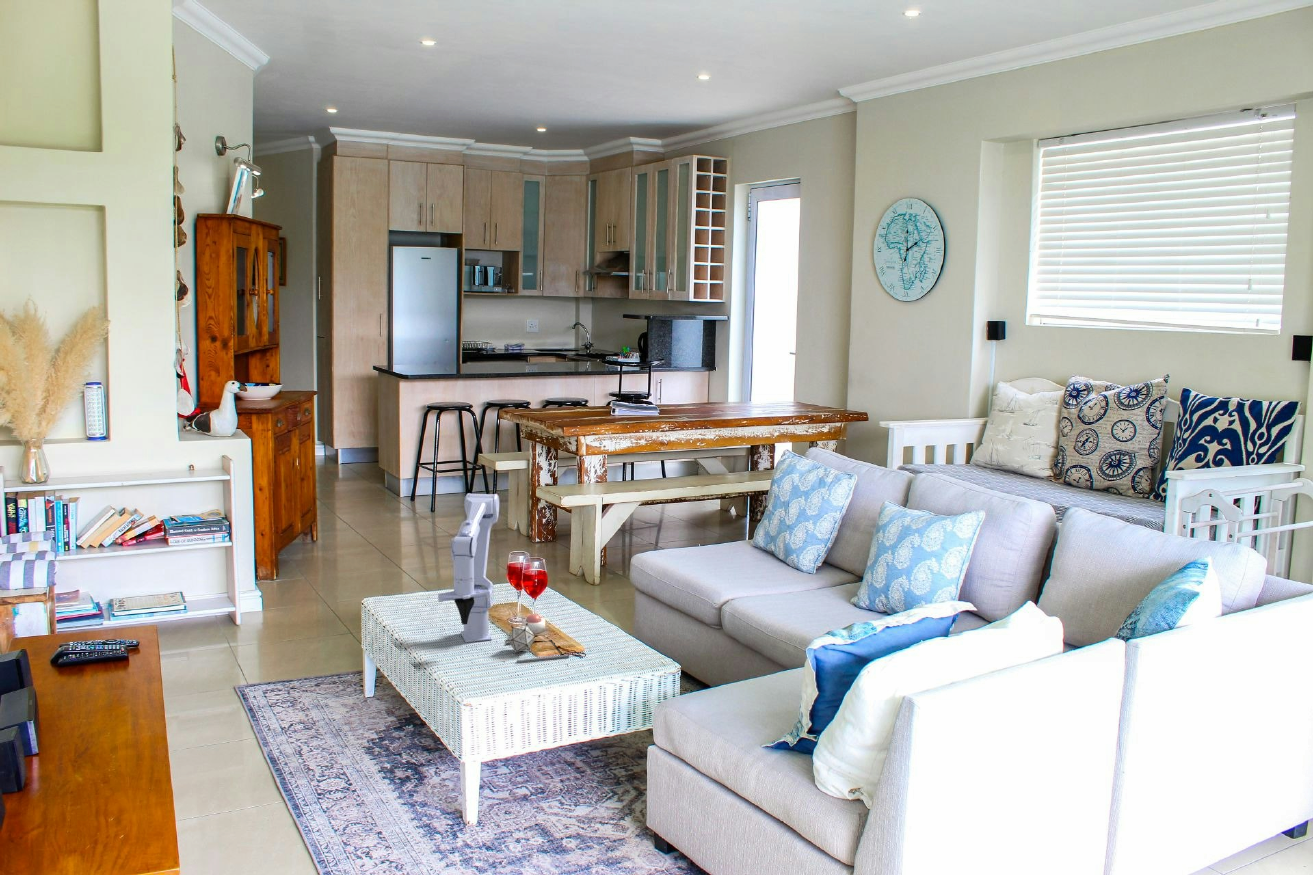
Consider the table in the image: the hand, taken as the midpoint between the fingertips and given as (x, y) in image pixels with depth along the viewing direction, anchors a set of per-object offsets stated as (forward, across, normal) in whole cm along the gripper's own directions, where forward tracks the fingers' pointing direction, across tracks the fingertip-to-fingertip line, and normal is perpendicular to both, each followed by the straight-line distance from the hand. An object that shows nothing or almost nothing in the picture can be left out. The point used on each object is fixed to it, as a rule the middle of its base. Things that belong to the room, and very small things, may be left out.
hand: (464, 623), depth 301 cm
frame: (+9, +20, -3) cm, 22 cm away
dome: (+8, +23, +11) cm, 27 cm away
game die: (+10, +16, -2) cm, 19 cm away
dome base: (+9, +23, +11) cm, 27 cm away
